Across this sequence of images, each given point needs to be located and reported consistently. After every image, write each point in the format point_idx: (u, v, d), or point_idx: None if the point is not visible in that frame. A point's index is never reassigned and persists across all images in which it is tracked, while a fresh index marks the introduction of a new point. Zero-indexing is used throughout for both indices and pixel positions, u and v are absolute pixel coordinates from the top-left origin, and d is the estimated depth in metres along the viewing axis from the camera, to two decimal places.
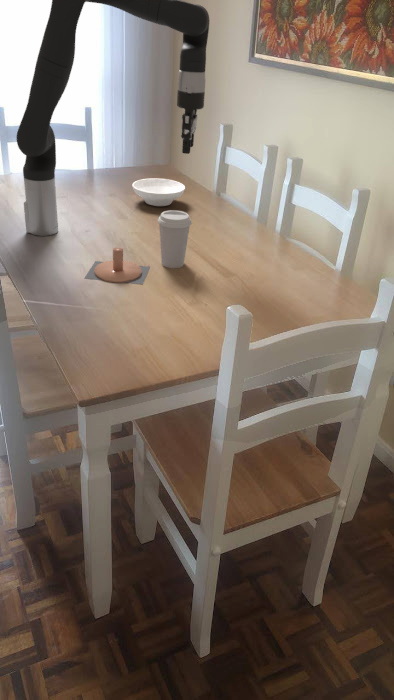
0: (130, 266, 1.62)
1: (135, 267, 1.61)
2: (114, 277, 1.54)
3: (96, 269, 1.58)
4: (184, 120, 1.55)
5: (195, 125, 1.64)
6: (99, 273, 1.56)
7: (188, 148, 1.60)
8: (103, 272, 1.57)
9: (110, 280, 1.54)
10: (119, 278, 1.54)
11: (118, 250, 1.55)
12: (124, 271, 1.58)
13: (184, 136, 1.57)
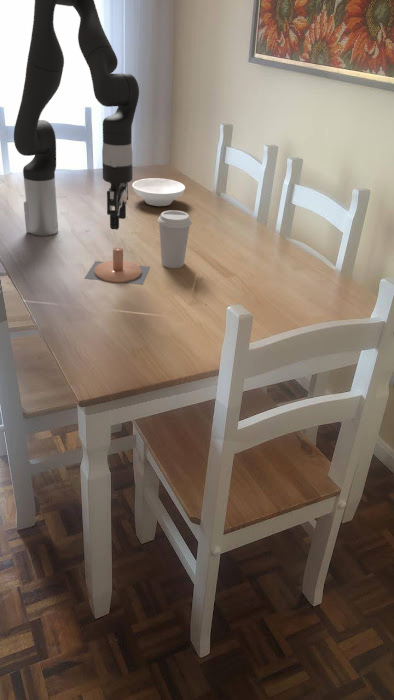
0: (130, 266, 1.62)
1: (135, 267, 1.61)
2: (114, 277, 1.54)
3: (96, 269, 1.58)
4: (109, 196, 1.41)
5: (125, 197, 1.51)
6: (99, 273, 1.56)
7: (116, 224, 1.47)
8: (103, 272, 1.57)
9: (110, 280, 1.54)
10: (119, 278, 1.54)
11: (118, 250, 1.55)
12: (124, 271, 1.58)
13: (110, 213, 1.43)
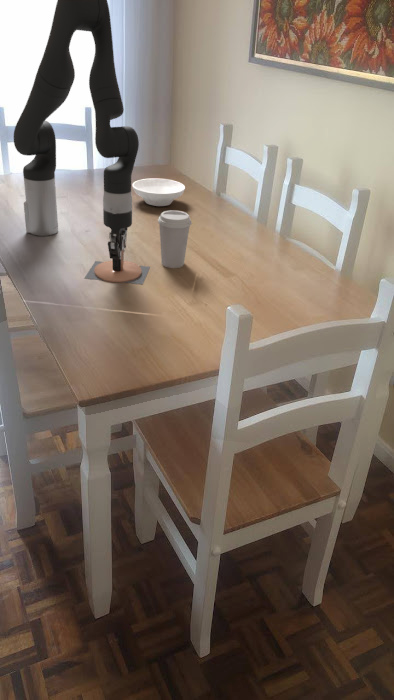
0: (130, 266, 1.62)
1: (135, 267, 1.61)
2: (114, 277, 1.54)
3: (96, 269, 1.58)
4: (110, 247, 1.49)
5: (124, 242, 1.56)
6: (99, 273, 1.56)
7: (118, 266, 1.56)
8: (103, 272, 1.57)
9: (110, 280, 1.54)
10: (119, 278, 1.54)
11: None
12: (124, 271, 1.58)
13: (112, 257, 1.52)
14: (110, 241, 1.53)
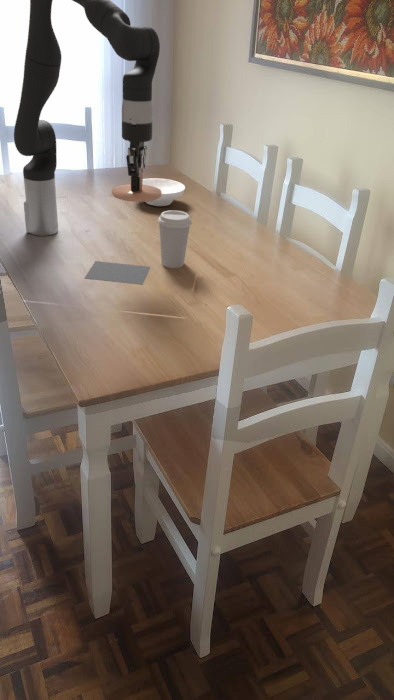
0: (149, 188, 1.52)
1: (155, 190, 1.52)
2: (133, 197, 1.45)
3: (113, 190, 1.49)
4: (128, 161, 1.40)
5: (143, 160, 1.47)
6: (117, 193, 1.47)
7: (137, 186, 1.46)
8: (121, 192, 1.48)
9: (128, 199, 1.45)
10: (138, 197, 1.45)
11: None
12: (143, 192, 1.49)
13: (131, 173, 1.43)
14: None
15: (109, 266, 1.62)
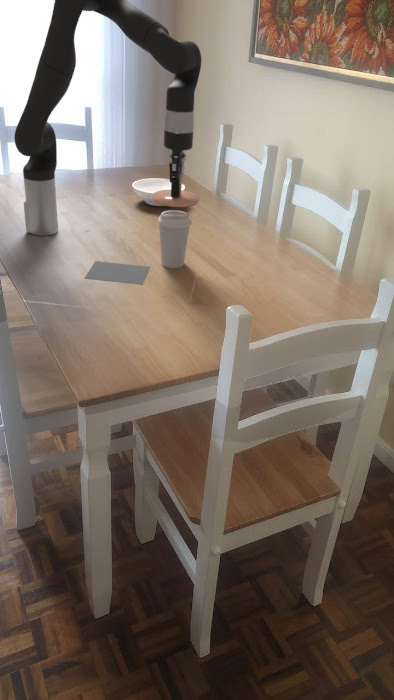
0: (187, 194, 1.59)
1: (192, 195, 1.59)
2: (174, 202, 1.52)
3: (154, 195, 1.56)
4: (171, 169, 1.47)
5: (183, 167, 1.54)
6: (158, 199, 1.54)
7: (177, 192, 1.54)
8: (161, 198, 1.55)
9: (170, 204, 1.52)
10: (179, 203, 1.52)
11: None
12: (182, 198, 1.56)
13: (172, 180, 1.50)
14: None
15: (109, 266, 1.62)
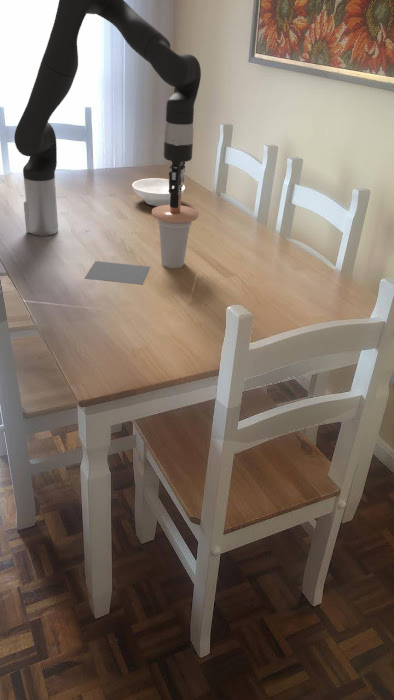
0: (186, 209, 1.62)
1: (191, 210, 1.61)
2: (173, 218, 1.55)
3: (153, 211, 1.58)
4: (171, 177, 1.48)
5: (183, 177, 1.56)
6: (157, 214, 1.56)
7: (176, 203, 1.54)
8: (161, 214, 1.57)
9: (169, 220, 1.54)
10: (178, 219, 1.54)
11: None
12: (181, 213, 1.58)
13: (171, 191, 1.50)
14: None
15: (109, 266, 1.62)
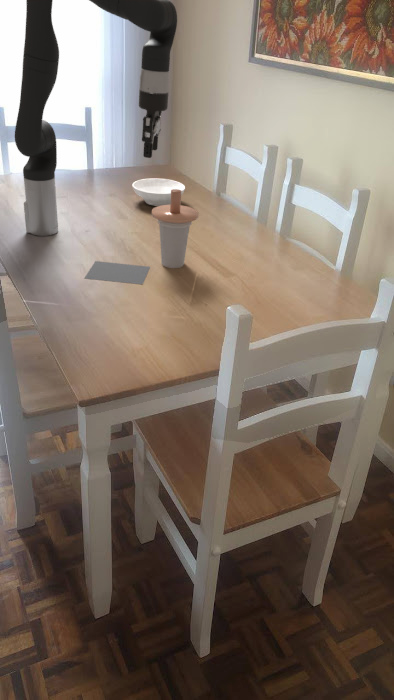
0: (186, 209, 1.62)
1: (191, 210, 1.61)
2: (173, 218, 1.55)
3: (153, 211, 1.58)
4: (145, 122, 1.45)
5: (159, 127, 1.54)
6: (157, 214, 1.56)
7: (149, 152, 1.51)
8: (161, 214, 1.57)
9: (169, 221, 1.54)
10: (178, 219, 1.54)
11: (176, 191, 1.55)
12: (181, 213, 1.58)
13: (145, 139, 1.47)
14: None
15: (109, 266, 1.62)
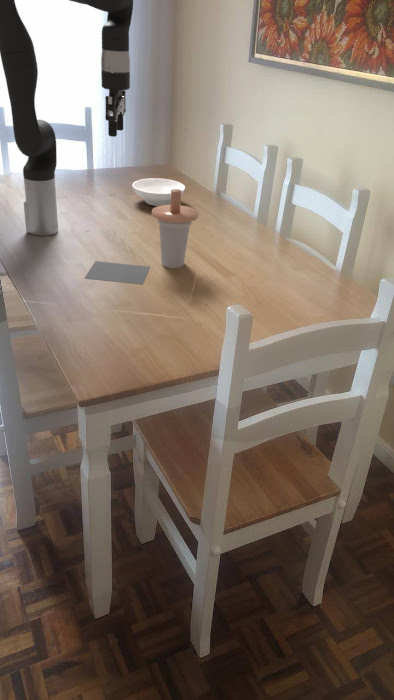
0: (186, 209, 1.62)
1: (191, 210, 1.61)
2: (173, 218, 1.55)
3: (153, 211, 1.58)
4: (107, 101, 1.50)
5: (123, 107, 1.59)
6: (157, 214, 1.56)
7: (114, 131, 1.55)
8: (161, 214, 1.57)
9: (169, 220, 1.54)
10: (178, 219, 1.54)
11: (176, 191, 1.56)
12: (181, 213, 1.59)
13: (108, 118, 1.52)
14: None
15: (109, 266, 1.62)
